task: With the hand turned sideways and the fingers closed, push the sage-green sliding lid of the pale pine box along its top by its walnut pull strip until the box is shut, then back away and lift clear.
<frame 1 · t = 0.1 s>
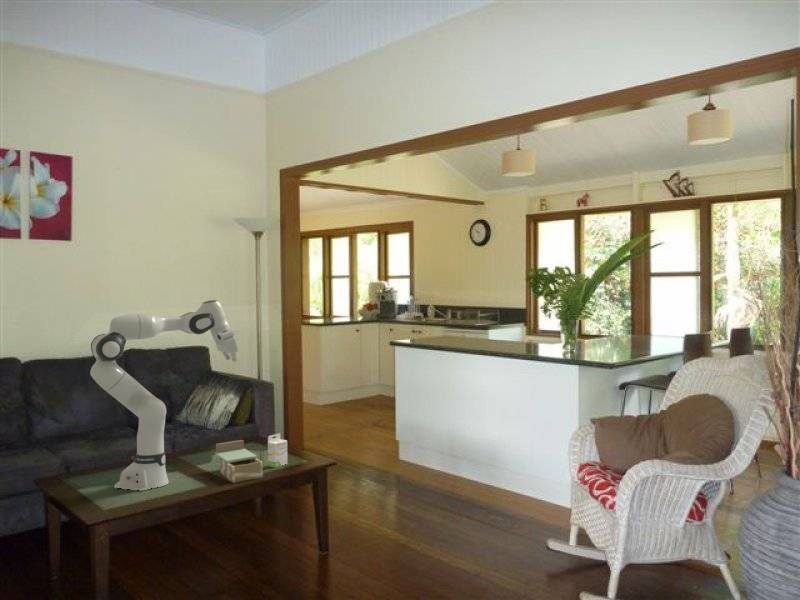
hand: (231, 360, 307), 52 cm above the table, tool tilted 20°, fingers open, 8 cm apart
lid: (235, 450, 305), point 10 cm above the table, slide at 7.0 cm
box: (241, 475, 300), on the table
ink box: (278, 465, 315), on the table
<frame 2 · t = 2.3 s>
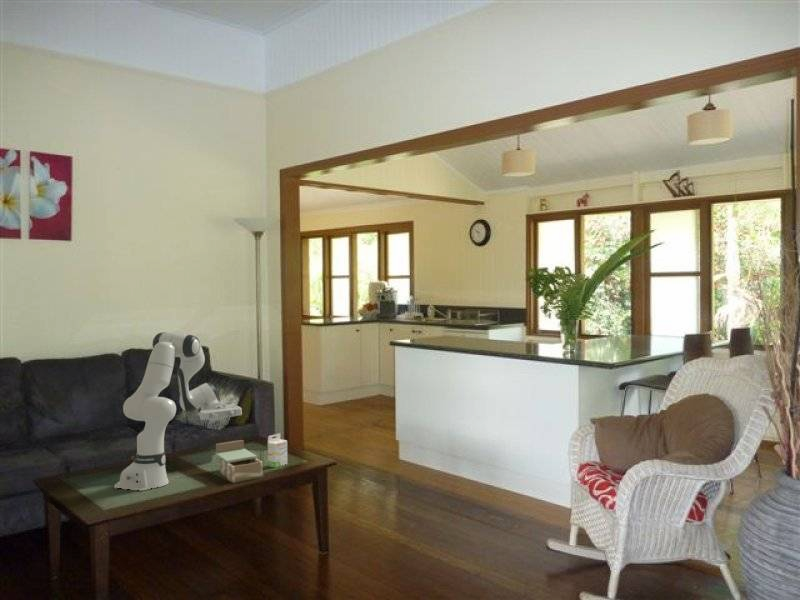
hand: (225, 415, 317), 24 cm above the table, tool horizontal, fingers open, 5 cm apart
nothing on the table moved.
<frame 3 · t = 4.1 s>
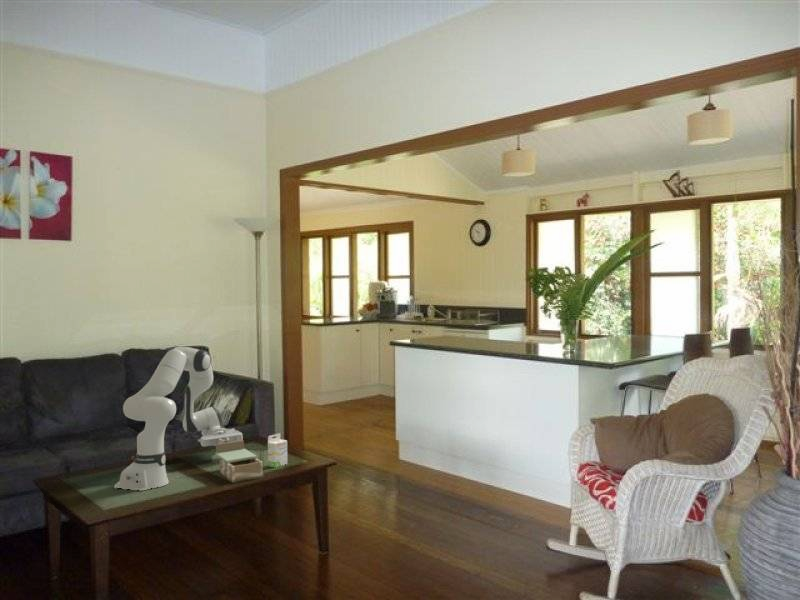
hand: (226, 442, 317), 11 cm above the table, tool horizontal, fingers closed
nothing on the table moved.
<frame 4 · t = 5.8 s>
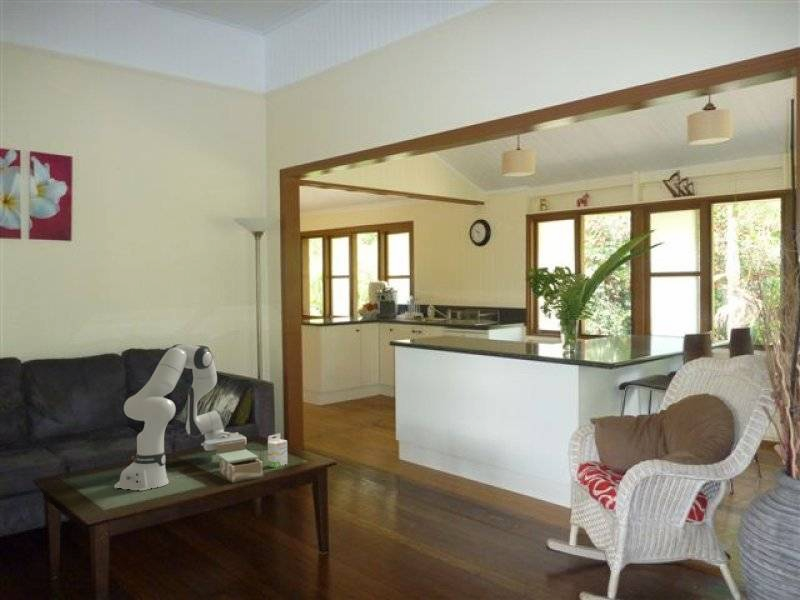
hand: (230, 446, 312), 10 cm above the table, tool horizontal, fingers closed, pressing on lid
lid: (236, 451, 304), point 10 cm above the table, slide at 5.6 cm, touching gripper
everything else where it was.
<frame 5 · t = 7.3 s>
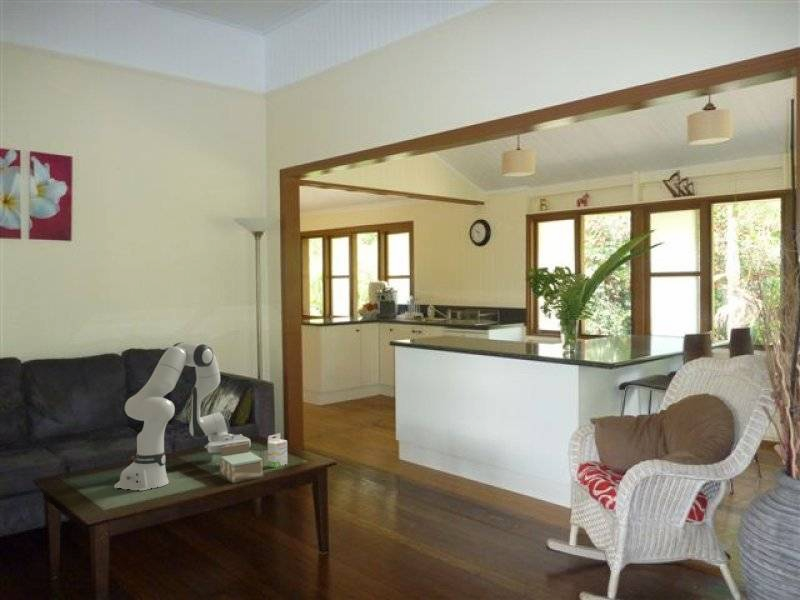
hand: (234, 448, 307), 10 cm above the table, tool horizontal, fingers closed, pressing on lid
lid: (240, 454, 299), point 10 cm above the table, slide at -0.1 cm, touching gripper
everything else where it was.
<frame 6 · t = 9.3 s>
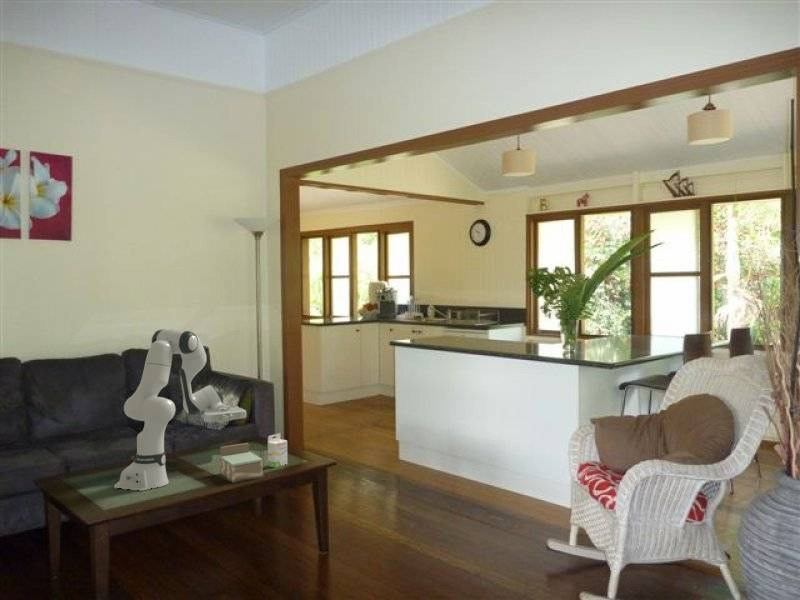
hand: (229, 418, 311), 24 cm above the table, tool horizontal, fingers closed
lid: (240, 454, 299), point 10 cm above the table, slide at 0.0 cm
everything else where it was.
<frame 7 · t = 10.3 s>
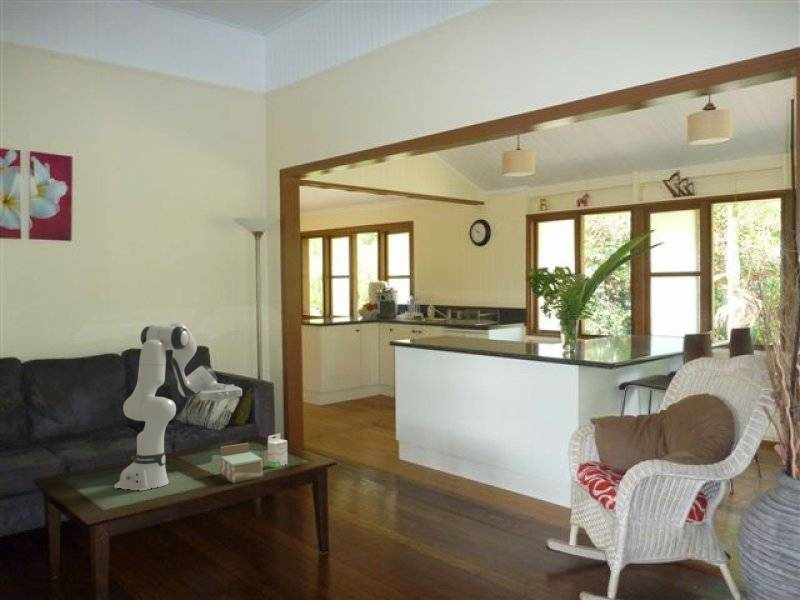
hand: (225, 396, 315), 34 cm above the table, tool horizontal, fingers closed
nothing on the table moved.
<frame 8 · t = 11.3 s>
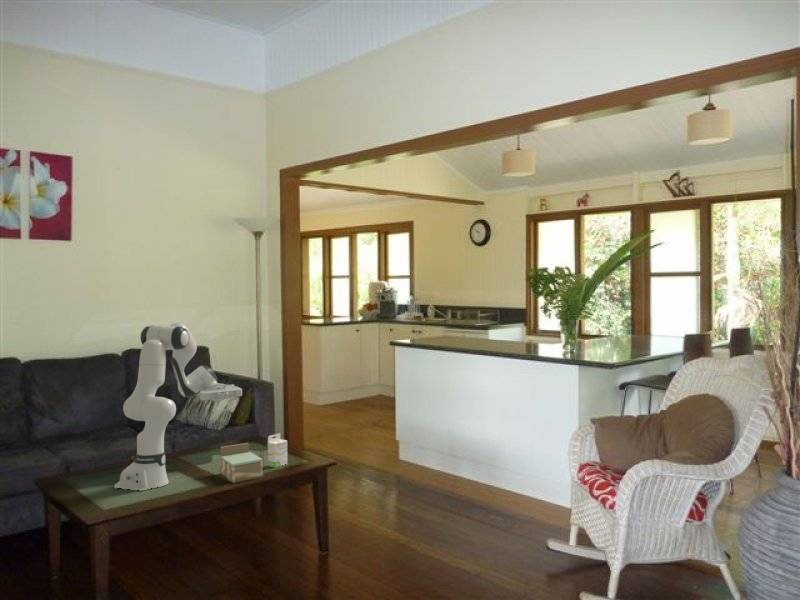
hand: (225, 395, 315), 34 cm above the table, tool horizontal, fingers closed
nothing on the table moved.
at the end: lid slide at 0.0 cm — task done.
